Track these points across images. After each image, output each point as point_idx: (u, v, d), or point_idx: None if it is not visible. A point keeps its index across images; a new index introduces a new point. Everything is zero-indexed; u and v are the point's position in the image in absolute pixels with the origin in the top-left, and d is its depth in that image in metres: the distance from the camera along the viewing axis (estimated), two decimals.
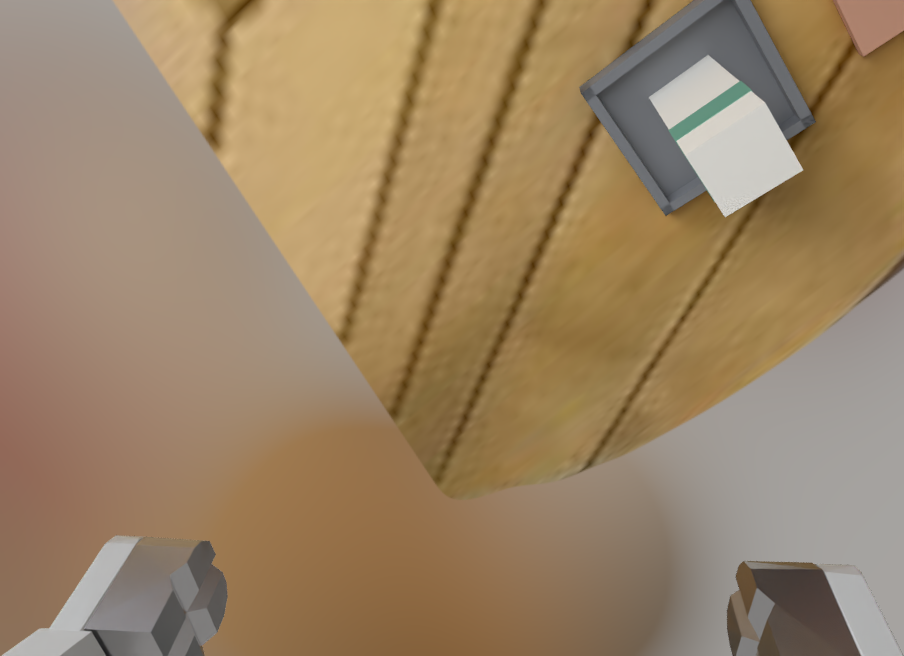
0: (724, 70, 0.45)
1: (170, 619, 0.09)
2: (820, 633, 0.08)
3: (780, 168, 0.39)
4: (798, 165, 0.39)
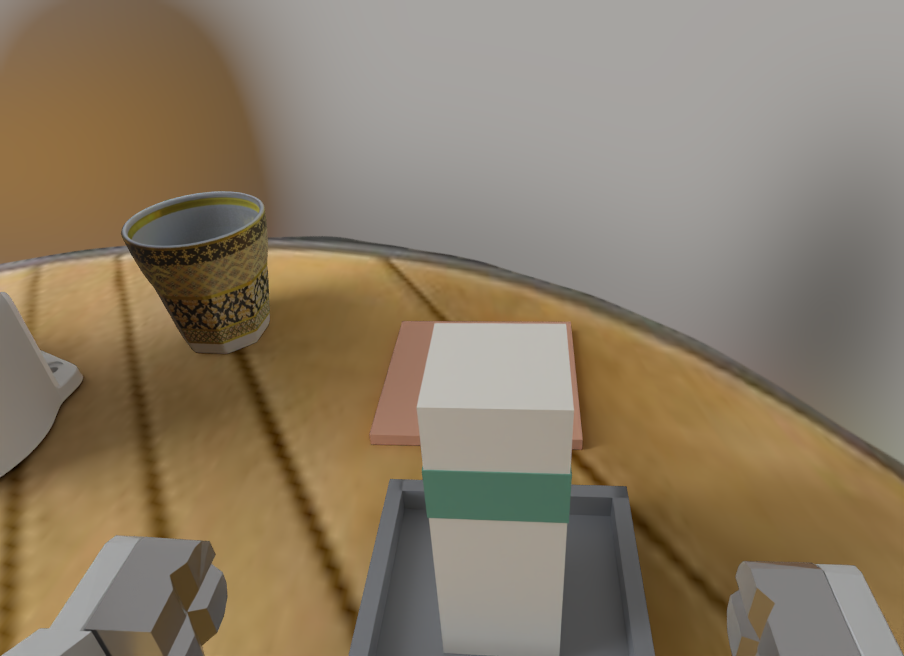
0: None
1: (170, 619, 0.09)
2: (820, 633, 0.08)
3: (542, 338, 0.24)
4: (554, 325, 0.25)
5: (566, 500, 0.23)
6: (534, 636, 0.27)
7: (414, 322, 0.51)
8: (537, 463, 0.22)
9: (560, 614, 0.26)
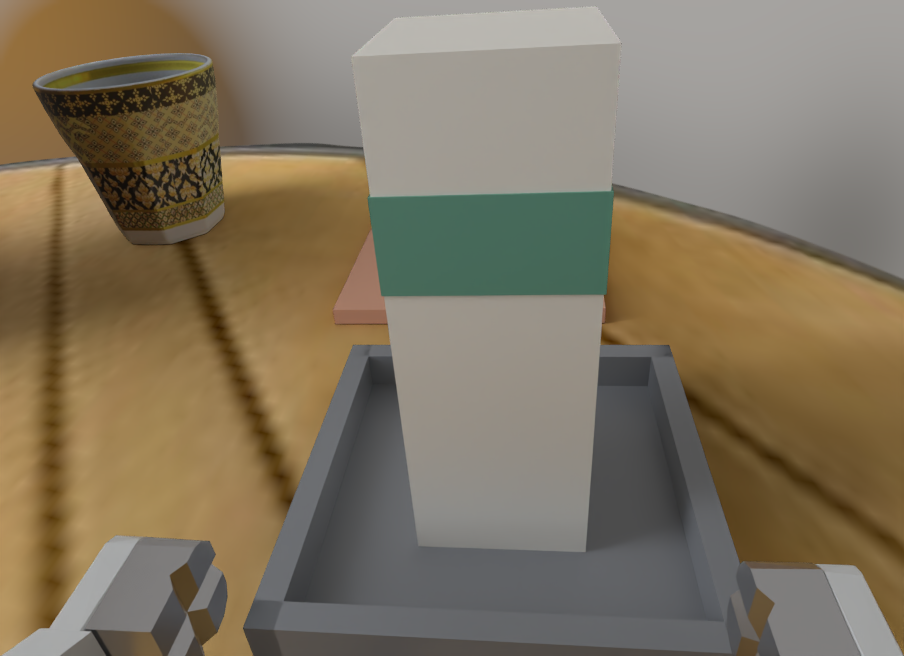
0: None
1: (170, 619, 0.09)
2: (820, 633, 0.08)
3: (561, 13, 0.15)
4: (578, 7, 0.16)
5: (603, 247, 0.14)
6: (549, 513, 0.19)
7: None
8: (556, 170, 0.13)
9: (589, 472, 0.18)
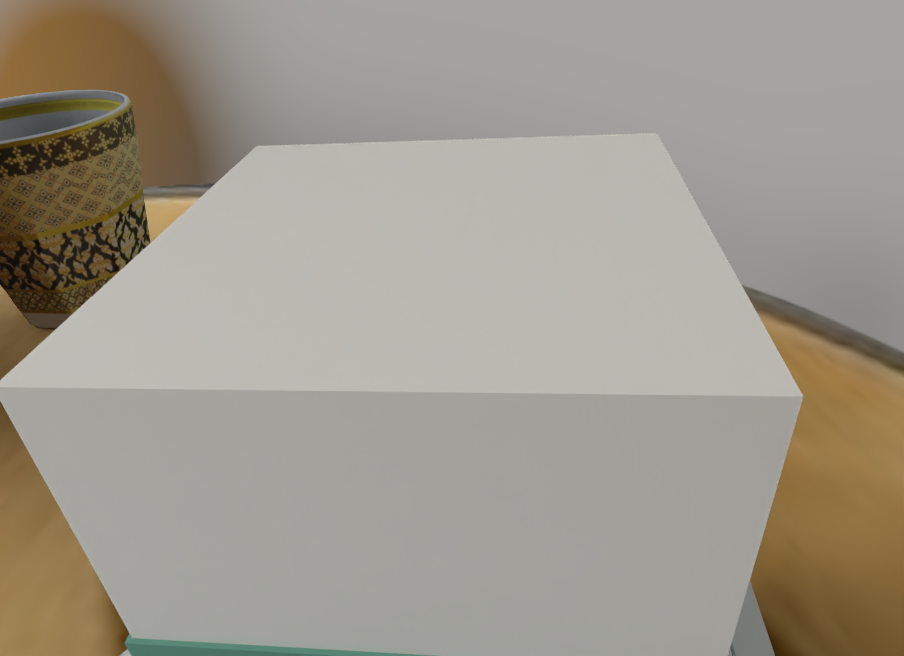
0: None
1: None
2: None
3: (587, 162, 0.07)
4: (620, 136, 0.08)
5: None
6: None
7: None
8: (585, 631, 0.05)
9: None
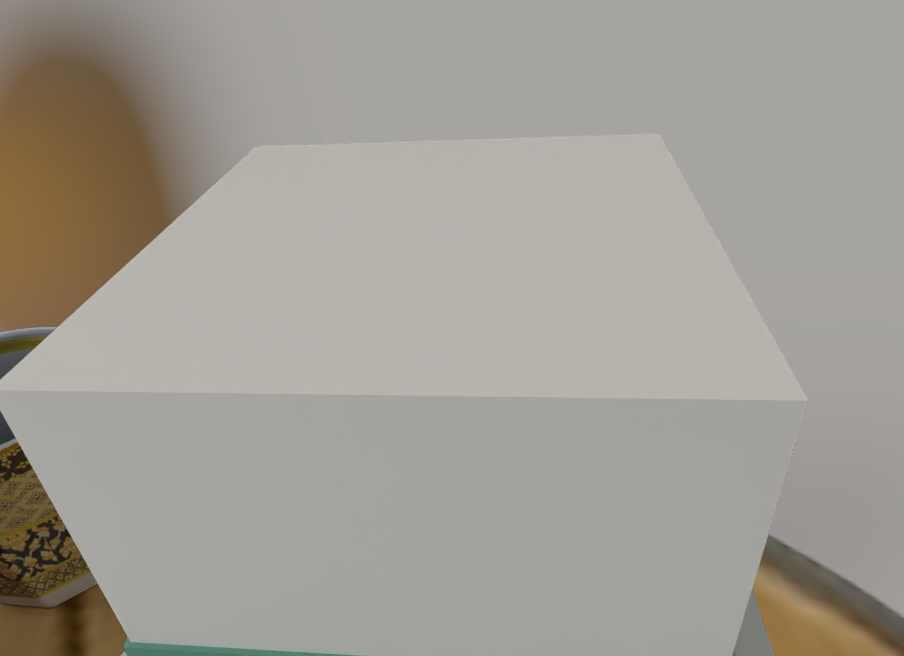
0: None
1: None
2: None
3: (588, 162, 0.07)
4: (622, 137, 0.08)
5: None
6: None
7: None
8: (586, 636, 0.05)
9: None
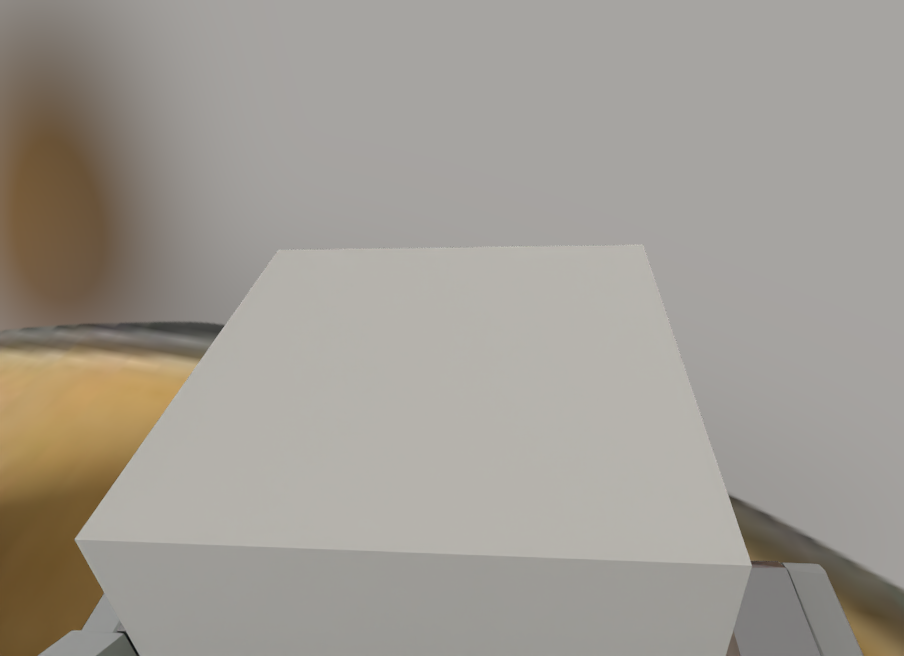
0: None
1: None
2: (781, 631, 0.08)
3: (579, 281, 0.08)
4: (610, 248, 0.09)
5: None
6: None
7: None
8: None
9: None
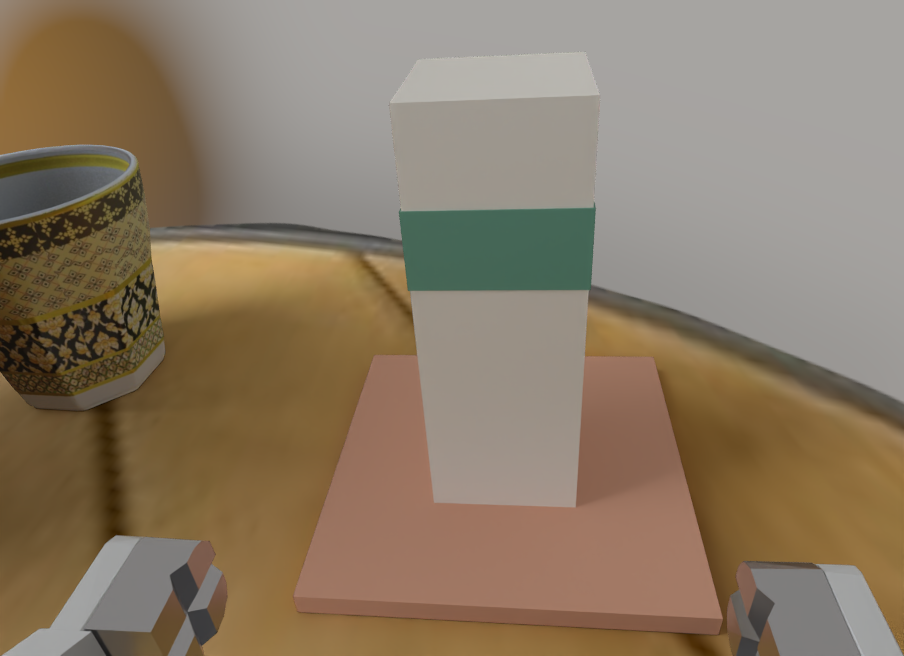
0: None
1: (170, 619, 0.09)
2: (820, 633, 0.08)
3: (555, 59, 0.19)
4: (570, 52, 0.19)
5: (588, 252, 0.17)
6: (545, 472, 0.22)
7: (393, 357, 0.31)
8: (550, 191, 0.17)
9: (578, 438, 0.21)
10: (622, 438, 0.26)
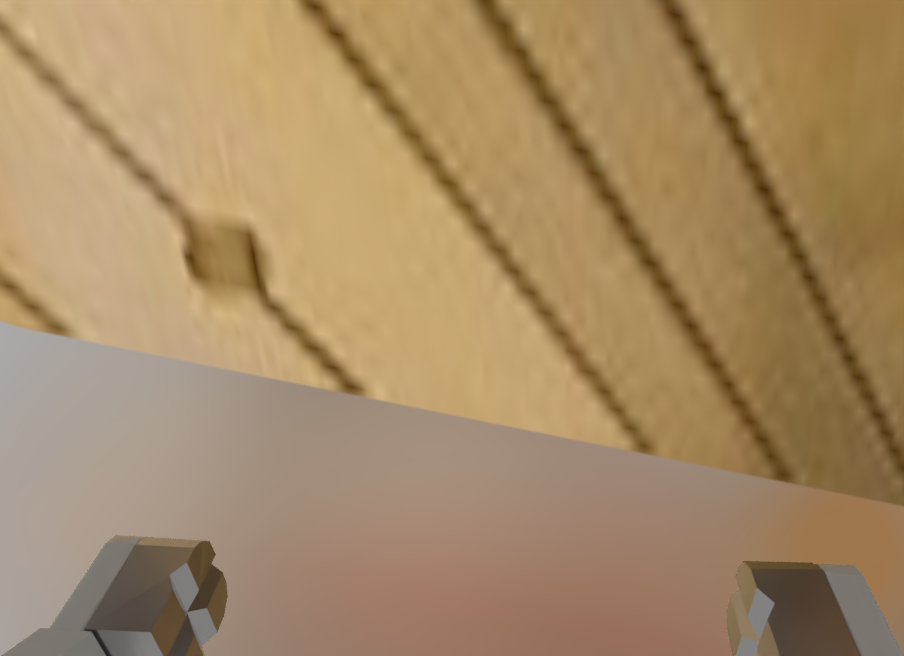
0: None
1: (170, 619, 0.09)
2: (820, 633, 0.08)
3: None
4: None
5: None
6: None
7: None
8: None
9: None
10: None
